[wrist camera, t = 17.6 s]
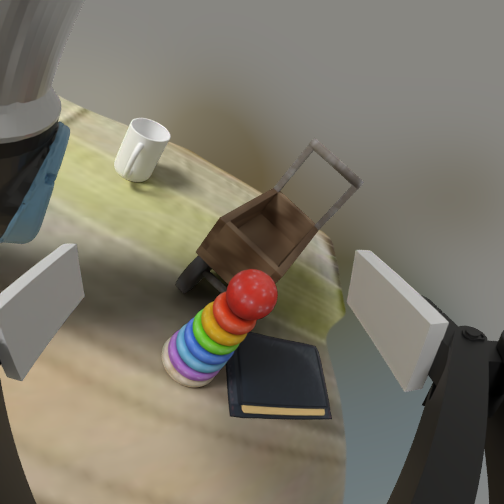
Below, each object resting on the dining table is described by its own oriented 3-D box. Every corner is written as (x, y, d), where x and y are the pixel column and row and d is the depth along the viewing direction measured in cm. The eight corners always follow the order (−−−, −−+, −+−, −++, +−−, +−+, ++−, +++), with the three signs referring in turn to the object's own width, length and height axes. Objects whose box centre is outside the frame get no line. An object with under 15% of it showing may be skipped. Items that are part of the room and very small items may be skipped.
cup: (154, 169, 65) (174, 130, 59) (138, 199, 56) (159, 155, 50) (121, 153, 62) (138, 113, 56) (100, 181, 53) (117, 135, 47)
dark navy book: (322, 343, 56) (337, 420, 46) (315, 348, 58) (329, 423, 47) (227, 318, 48) (231, 413, 37) (221, 324, 49) (224, 417, 38)
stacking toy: (223, 363, 44) (310, 291, 33) (193, 401, 37) (284, 337, 26) (182, 325, 44) (254, 240, 33) (147, 359, 37) (215, 274, 27)
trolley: (166, 293, 46) (270, 146, 31) (228, 247, 62) (316, 137, 47) (214, 341, 45) (345, 214, 30) (266, 282, 61) (364, 181, 46)
